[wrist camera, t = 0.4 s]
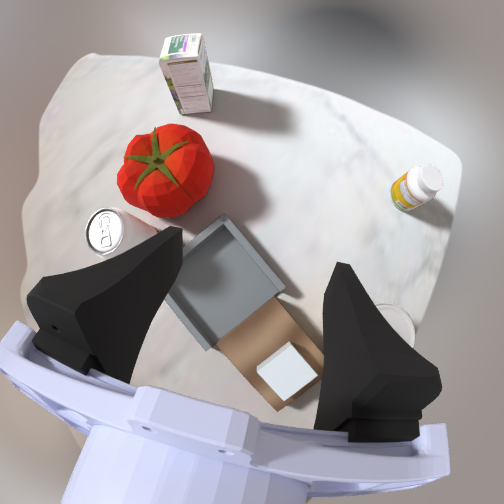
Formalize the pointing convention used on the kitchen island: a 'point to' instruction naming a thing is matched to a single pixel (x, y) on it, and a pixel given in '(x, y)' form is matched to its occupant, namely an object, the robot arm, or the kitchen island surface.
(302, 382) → the white block
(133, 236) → the can
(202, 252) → the tray
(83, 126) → the kitchen island surface
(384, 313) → the coffee cup
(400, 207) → the supplement bottle
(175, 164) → the tomato
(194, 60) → the syrup box
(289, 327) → the brown shallow box
